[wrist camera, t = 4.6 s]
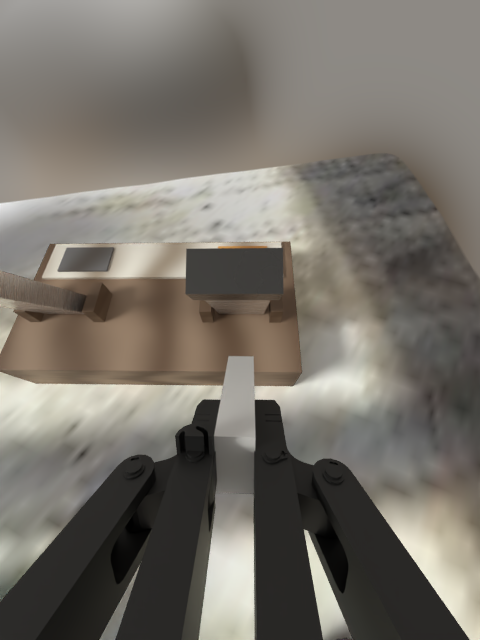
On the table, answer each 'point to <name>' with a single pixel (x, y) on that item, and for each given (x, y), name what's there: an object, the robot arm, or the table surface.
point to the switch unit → (148, 322)
